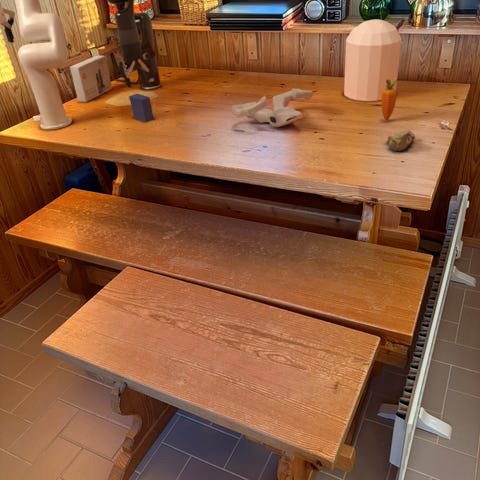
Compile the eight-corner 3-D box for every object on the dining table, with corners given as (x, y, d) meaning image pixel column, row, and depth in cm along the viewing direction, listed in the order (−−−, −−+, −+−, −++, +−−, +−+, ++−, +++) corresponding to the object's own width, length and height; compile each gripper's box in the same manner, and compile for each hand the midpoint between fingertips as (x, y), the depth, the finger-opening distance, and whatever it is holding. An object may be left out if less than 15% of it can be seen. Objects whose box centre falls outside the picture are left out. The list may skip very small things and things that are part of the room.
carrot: (394, 118, 167) (398, 76, 158) (393, 123, 163) (397, 80, 154) (379, 117, 168) (383, 75, 160) (378, 122, 165) (382, 80, 156)
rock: (408, 140, 153) (379, 139, 152) (414, 122, 149) (384, 120, 148) (421, 154, 144) (391, 153, 143) (428, 135, 140) (396, 133, 139)
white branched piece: (230, 133, 167) (227, 101, 161) (244, 110, 188) (241, 81, 182) (308, 133, 161) (308, 99, 155) (313, 109, 182) (314, 78, 176)
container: (365, 104, 181) (370, 27, 165) (333, 91, 197) (335, 20, 181) (407, 93, 187) (416, 18, 171) (373, 81, 203) (378, 12, 188)
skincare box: (87, 102, 214) (77, 67, 204) (78, 102, 215) (68, 66, 206) (113, 88, 229) (105, 54, 220) (104, 88, 231) (96, 54, 222)
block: (145, 121, 186) (141, 99, 181) (133, 117, 191) (128, 96, 186) (154, 118, 188) (149, 97, 183) (141, 114, 194) (137, 93, 189)
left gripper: (-53, -11, 129) (-28, 53, 139) (7, -20, 139) (27, 40, 148) (-61, -12, 134) (-36, 50, 144) (-2, -20, 143) (18, 38, 153)
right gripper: (118, 46, 167) (128, 91, 177) (150, 37, 175) (158, 81, 184) (107, 44, 172) (118, 87, 181) (139, 36, 180) (147, 78, 189)
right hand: (138, 84), depth 183 cm, fingers open, 8 cm apart
